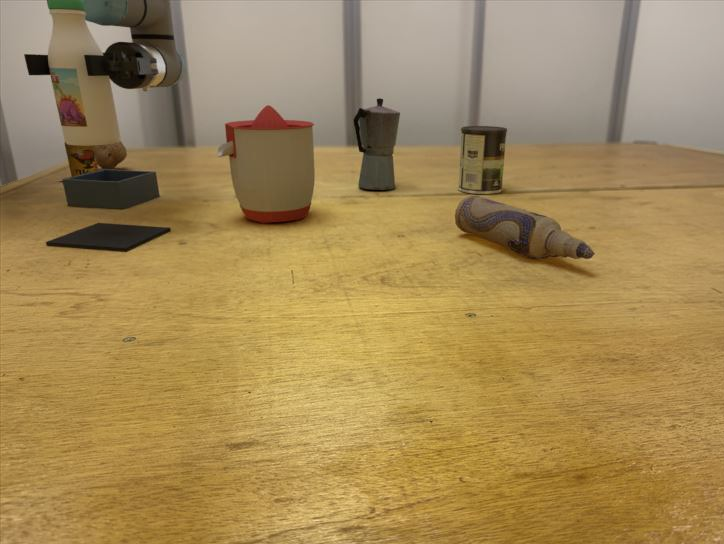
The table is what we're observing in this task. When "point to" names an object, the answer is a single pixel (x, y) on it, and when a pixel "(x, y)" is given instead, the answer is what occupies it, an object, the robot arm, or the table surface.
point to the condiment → (81, 159)
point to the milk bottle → (79, 79)
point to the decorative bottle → (518, 229)
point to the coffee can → (482, 159)
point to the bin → (111, 188)
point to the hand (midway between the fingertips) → (59, 65)
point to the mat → (109, 237)
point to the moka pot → (377, 145)
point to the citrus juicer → (271, 166)
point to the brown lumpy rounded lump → (110, 155)
